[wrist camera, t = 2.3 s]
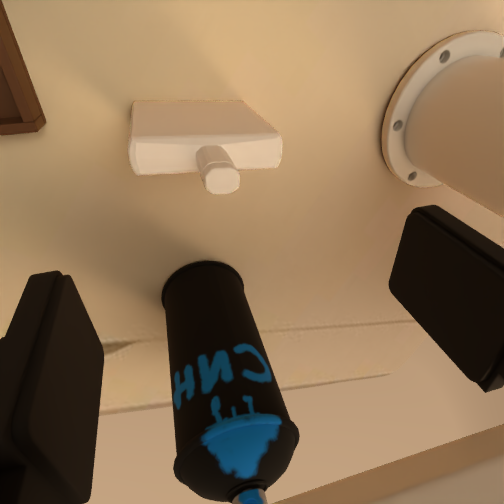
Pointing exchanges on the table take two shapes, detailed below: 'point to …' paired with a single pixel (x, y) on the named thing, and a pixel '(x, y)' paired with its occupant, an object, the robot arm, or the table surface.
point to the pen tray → (16, 87)
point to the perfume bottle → (201, 141)
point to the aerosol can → (223, 389)
